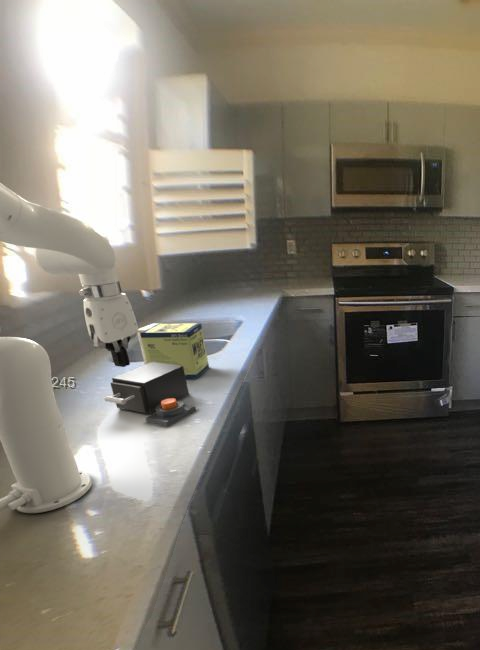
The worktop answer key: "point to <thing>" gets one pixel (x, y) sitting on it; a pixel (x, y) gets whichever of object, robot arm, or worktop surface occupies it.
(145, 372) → the dark grey cabinet
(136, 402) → the drawer
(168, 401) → the button
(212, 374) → the worktop surface
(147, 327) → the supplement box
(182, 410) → the block
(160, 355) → the protein box
